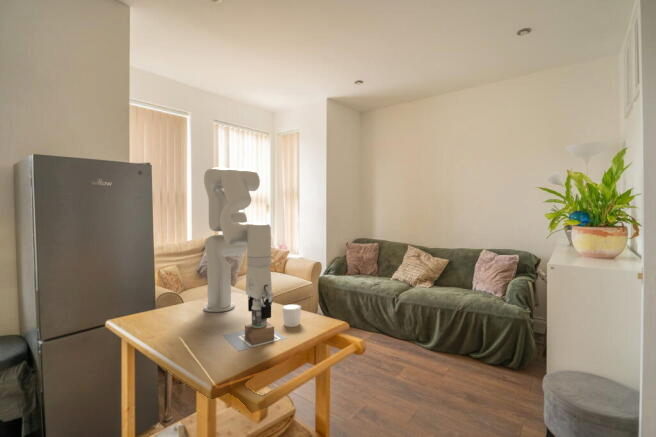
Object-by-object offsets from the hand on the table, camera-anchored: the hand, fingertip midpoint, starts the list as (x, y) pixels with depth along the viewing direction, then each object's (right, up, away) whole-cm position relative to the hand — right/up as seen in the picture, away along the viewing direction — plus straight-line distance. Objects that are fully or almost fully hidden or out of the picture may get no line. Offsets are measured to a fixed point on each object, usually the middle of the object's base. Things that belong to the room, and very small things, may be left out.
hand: (259, 314), depth 102 cm
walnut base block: (0, -8, 0) cm, 8 cm away
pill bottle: (0, -4, 0) cm, 4 cm away
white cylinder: (+9, -8, +13) cm, 18 cm away
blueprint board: (-2, -8, +1) cm, 9 cm away
